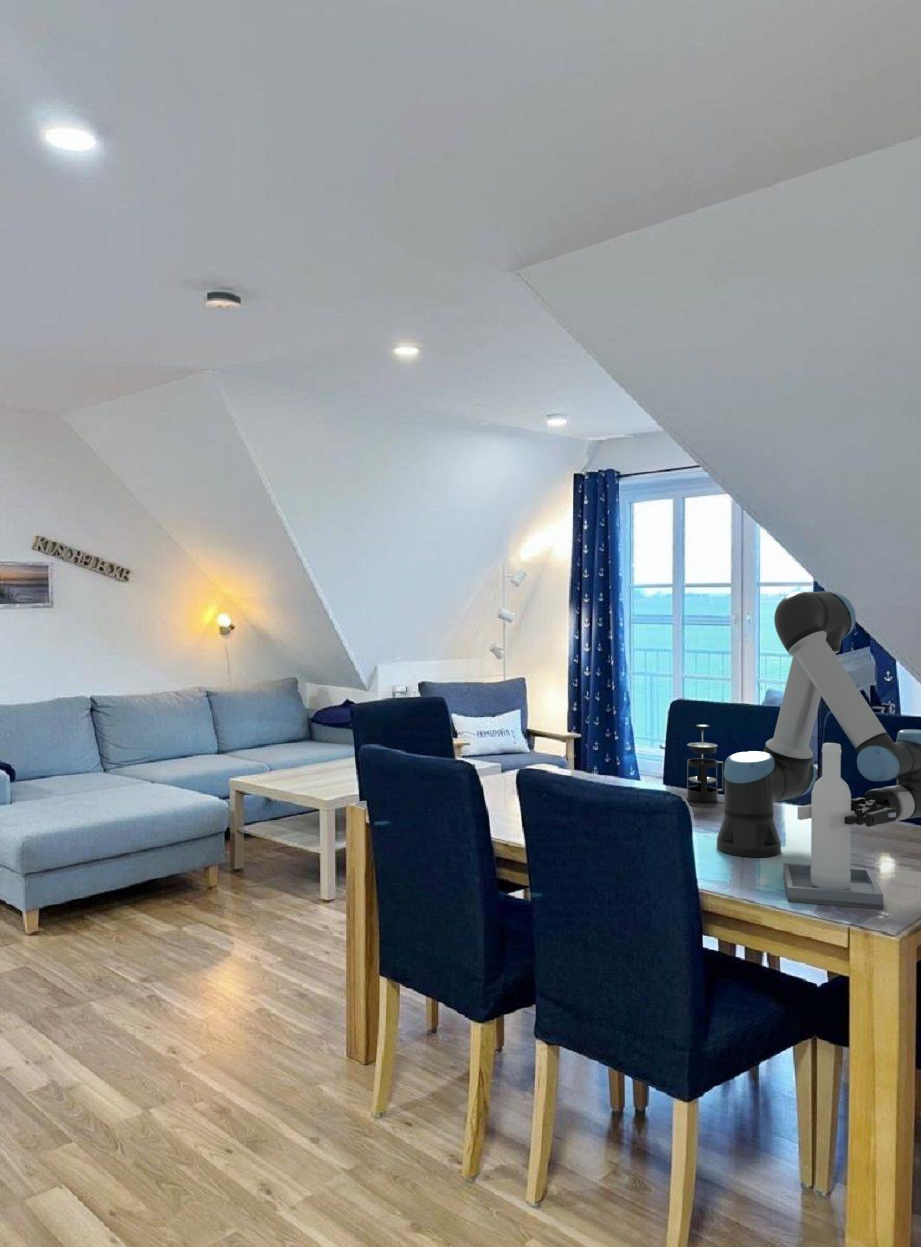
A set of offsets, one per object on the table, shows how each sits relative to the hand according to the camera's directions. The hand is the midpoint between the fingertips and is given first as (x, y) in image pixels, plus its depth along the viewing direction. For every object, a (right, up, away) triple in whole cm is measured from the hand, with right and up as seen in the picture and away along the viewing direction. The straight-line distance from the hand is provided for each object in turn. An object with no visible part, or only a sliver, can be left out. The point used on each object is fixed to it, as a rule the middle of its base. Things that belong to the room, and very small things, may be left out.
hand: (815, 817), depth 198 cm
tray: (+4, -16, +3) cm, 17 cm away
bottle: (+4, -15, +3) cm, 16 cm away
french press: (0, -13, +91) cm, 92 cm away
